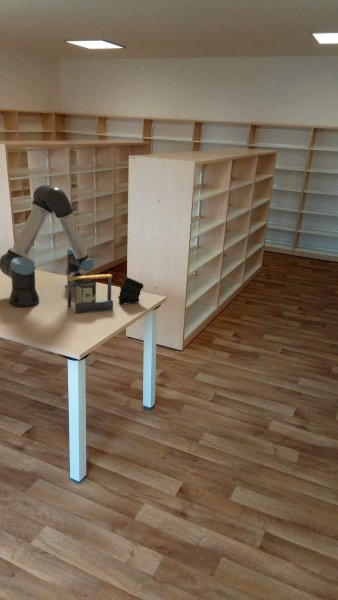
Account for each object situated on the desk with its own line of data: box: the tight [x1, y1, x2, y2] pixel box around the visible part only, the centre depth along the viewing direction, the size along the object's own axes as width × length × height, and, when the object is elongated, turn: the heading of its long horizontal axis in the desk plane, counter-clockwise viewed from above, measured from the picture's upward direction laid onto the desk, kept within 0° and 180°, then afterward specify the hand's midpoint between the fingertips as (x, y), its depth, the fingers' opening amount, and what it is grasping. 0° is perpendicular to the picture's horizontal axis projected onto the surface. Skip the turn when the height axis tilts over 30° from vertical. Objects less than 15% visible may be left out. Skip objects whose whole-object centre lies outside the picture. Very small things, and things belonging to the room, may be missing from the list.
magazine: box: [117, 276, 144, 305], centre depth 242 cm, size 4×13×15 cm, turn 114°
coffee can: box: [75, 279, 97, 303], centre depth 229 cm, size 10×10×14 cm
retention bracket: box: [66, 273, 114, 315], centre depth 229 cm, size 24×11×16 cm, turn 116°
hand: (89, 292), depth 235 cm, fingers closed
